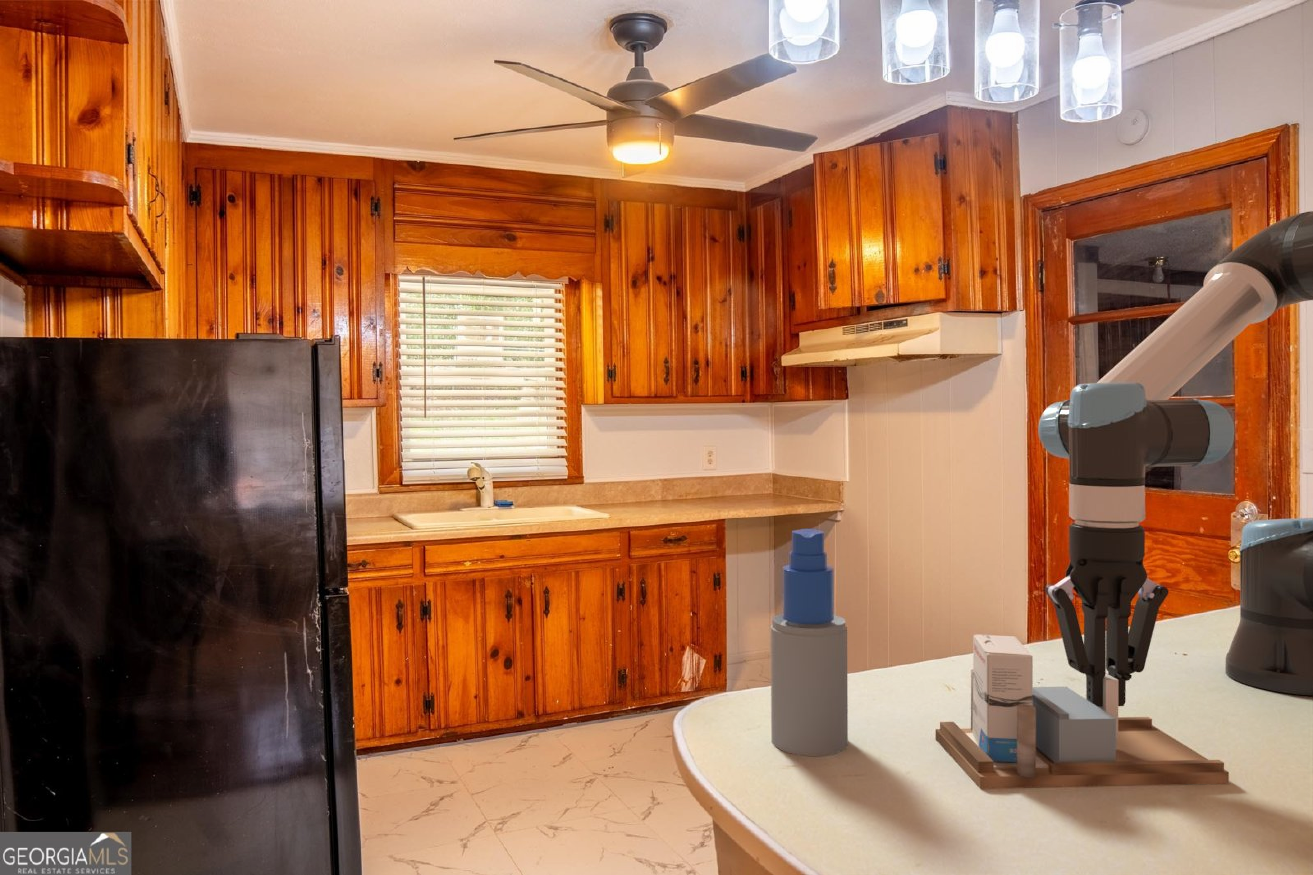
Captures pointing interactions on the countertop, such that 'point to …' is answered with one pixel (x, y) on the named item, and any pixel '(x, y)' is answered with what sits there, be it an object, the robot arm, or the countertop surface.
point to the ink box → (999, 693)
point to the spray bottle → (809, 656)
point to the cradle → (1138, 762)
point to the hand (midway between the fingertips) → (1105, 734)
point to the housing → (1072, 727)
